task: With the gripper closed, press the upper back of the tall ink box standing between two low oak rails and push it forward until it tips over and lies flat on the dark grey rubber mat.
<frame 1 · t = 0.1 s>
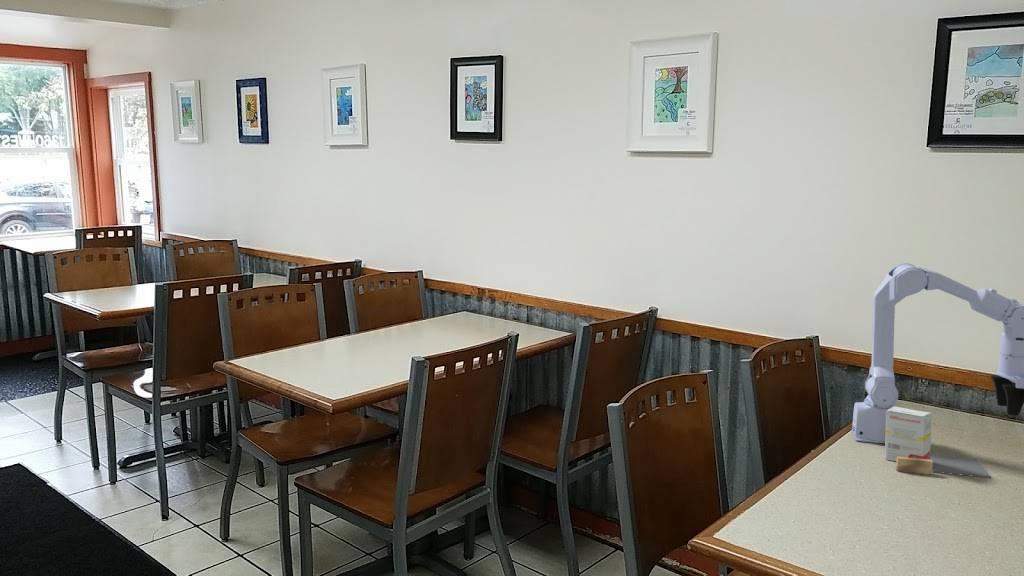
hand: (1007, 410, 186), 10 cm above the table, tool pointing down, fingers open, 7 cm apart
rail bay: (907, 461, 179), on the table
ink box: (907, 461, 179), on the table, touching rubber mat
rubber mat: (954, 466, 177), on the table
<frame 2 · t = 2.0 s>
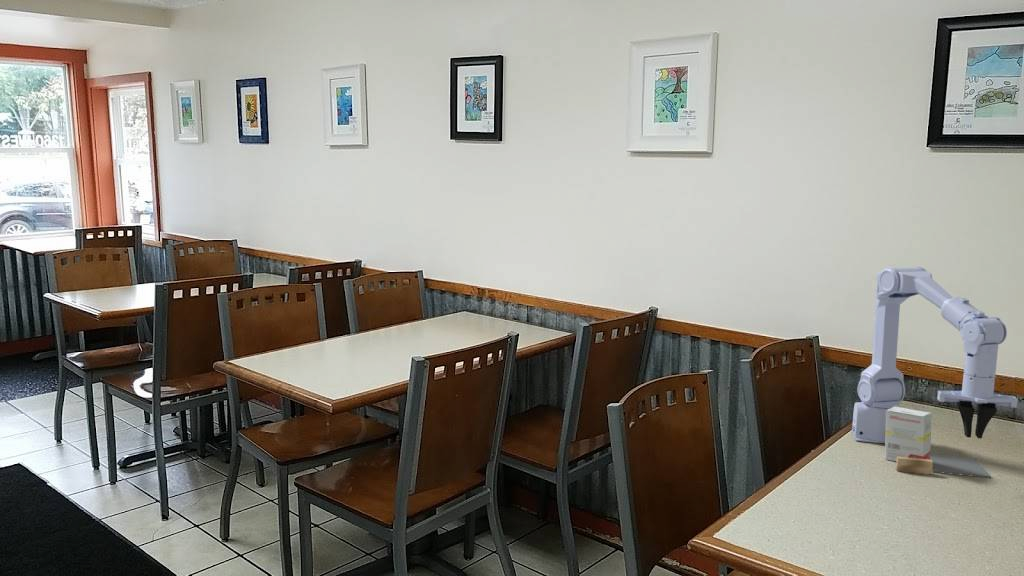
hand: (972, 436, 166), 10 cm above the table, tool pointing down, fingers closed
nothing on the table moved.
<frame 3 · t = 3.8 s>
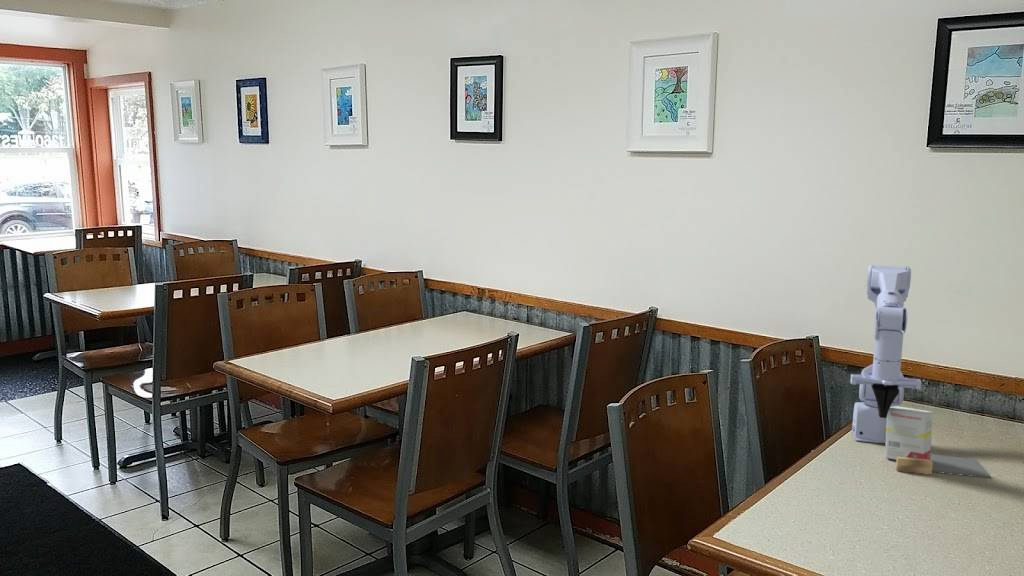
hand: (882, 416, 179), 10 cm above the table, tool pointing down, fingers closed
ink box: (907, 460, 179), on the table, touching gripper, rubber mat
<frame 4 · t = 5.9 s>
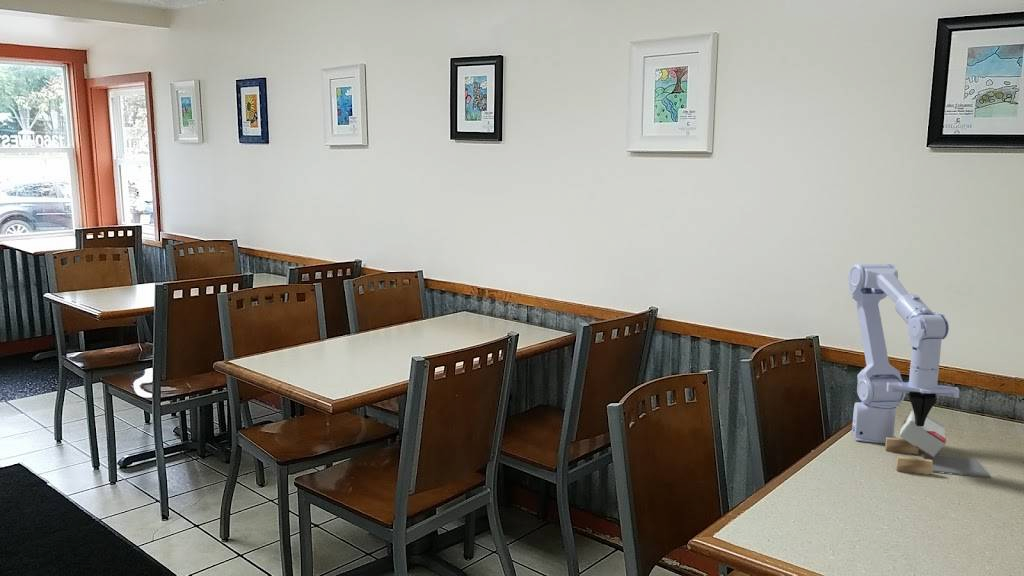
hand: (919, 425, 178), 9 cm above the table, tool pointing down, fingers closed
ink box: (922, 439, 178), point 5 cm above the table, touching gripper, rail bay
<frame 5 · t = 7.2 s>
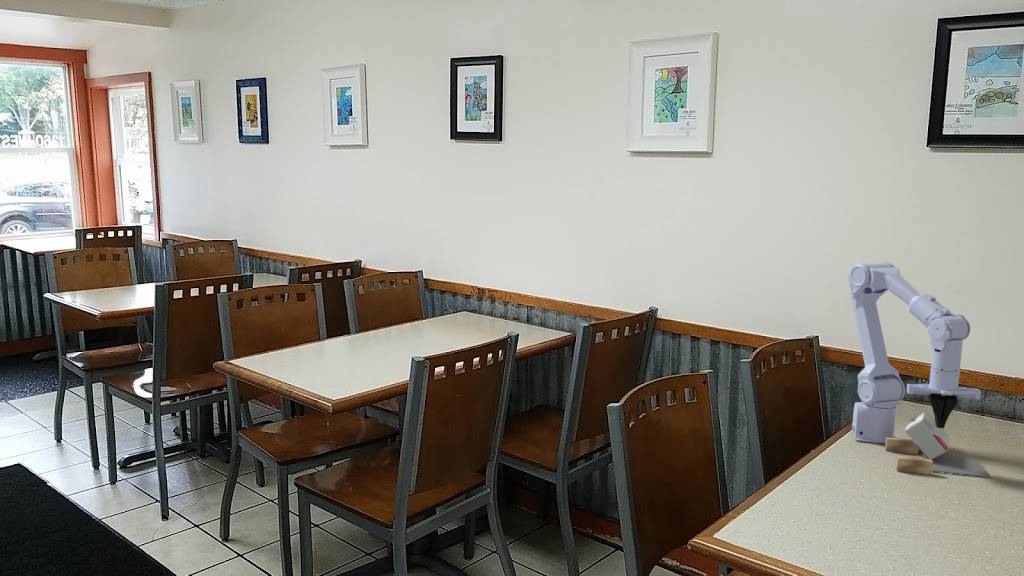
hand: (939, 426, 176), 9 cm above the table, tool pointing down, fingers closed
ink box: (925, 440, 178), point 5 cm above the table, touching rail bay, rubber mat
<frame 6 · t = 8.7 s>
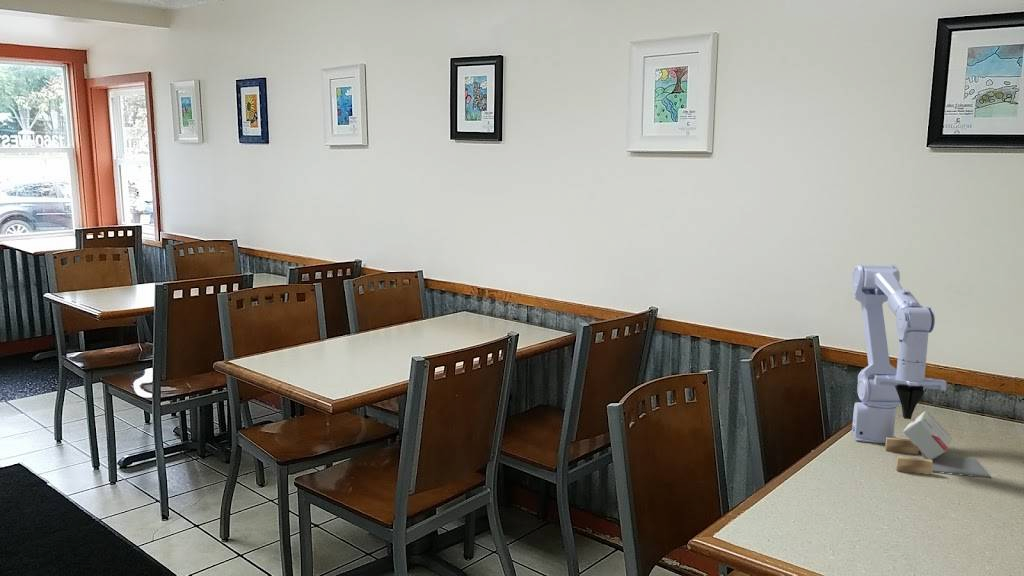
hand: (906, 417, 178), 10 cm above the table, tool pointing down, fingers closed
ink box: (924, 441, 178), point 5 cm above the table, touching rail bay, rubber mat
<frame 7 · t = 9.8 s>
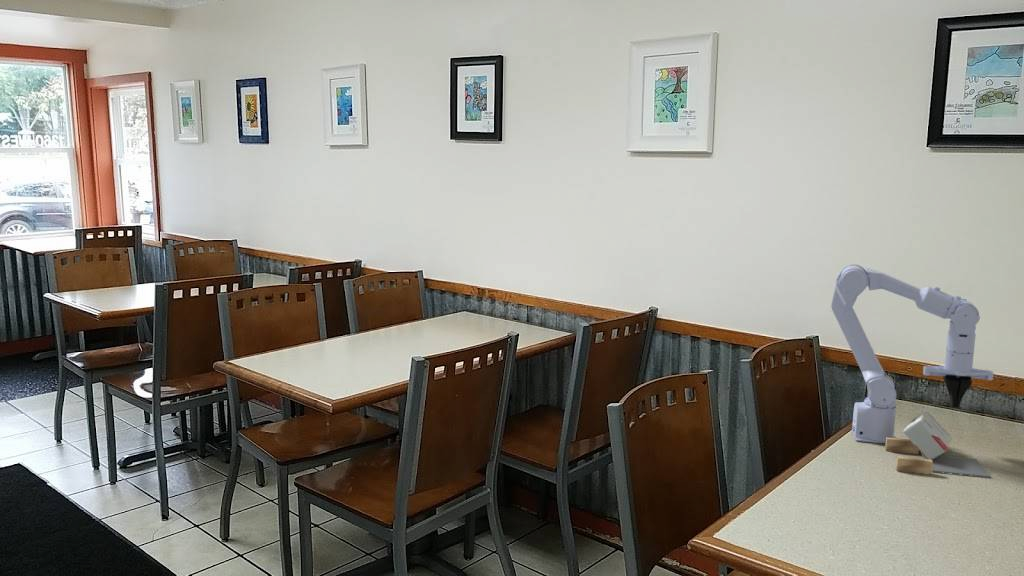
hand: (954, 406, 187), 10 cm above the table, tool pointing down, fingers closed
nothing on the table moved.
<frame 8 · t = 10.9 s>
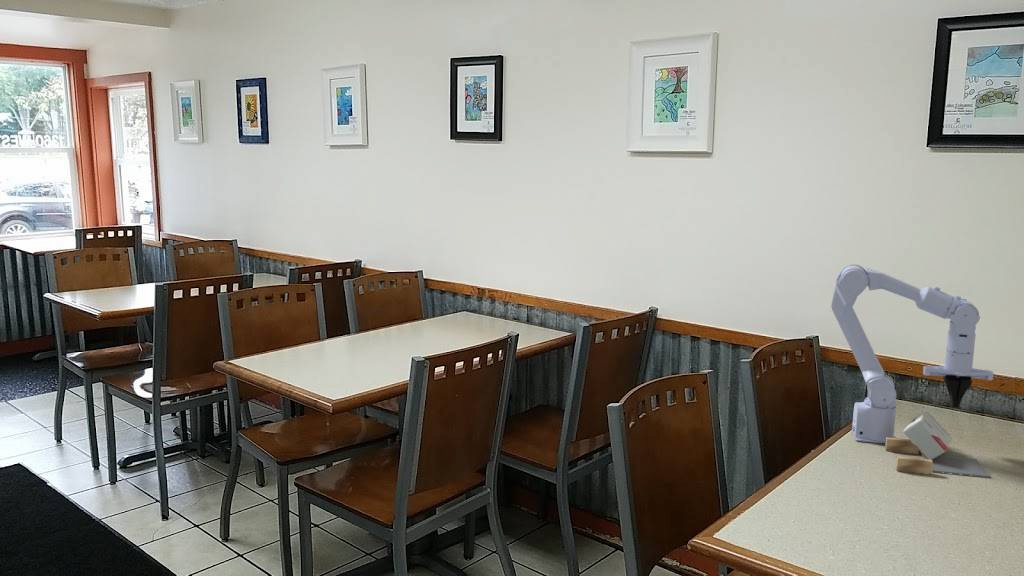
hand: (954, 406, 187), 10 cm above the table, tool pointing down, fingers closed
nothing on the table moved.
at the end: ink box tilted 92°; ink box inside the target area (5.3 cm from its centre), point 5.0 cm above the table; ink box moved 6.0 cm from its start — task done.
